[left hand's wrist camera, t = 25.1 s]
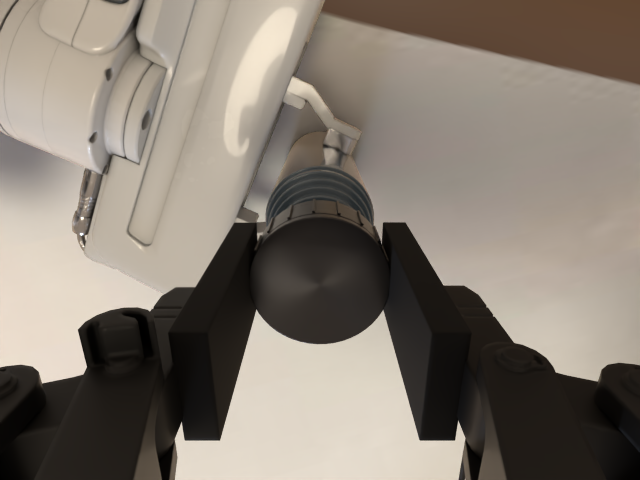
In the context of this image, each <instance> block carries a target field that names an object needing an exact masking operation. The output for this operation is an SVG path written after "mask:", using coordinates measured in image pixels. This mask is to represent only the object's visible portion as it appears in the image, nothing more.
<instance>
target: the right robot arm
mask: <svg viewBox="0 0 640 480" xmlns="http://www.w3.org/2000/svg"><path fill="white" fill-rule="evenodd" d="M324 2H325V0H0V131H1V132H2V133H4V134H6V135H7V136H9V137H12V138H14V139H16V140H19V141H21V142H24V143H26V144H28V145H31V146H33V147H36V148H38V149H40V150H43V151H45V152H48V153H50V154H53V155H55V156H58V157H60V158H63V159H65V160H67V161H70V162H72V163H75V164H77V165H79V166H82V167H84V168H85V171H84V176H83V180H82V184H81V189H80V198H79V204H78V208H77V211H75V214H74V217H73V221H72V231H73V232H74V233H76V234H77V238H78V242H79V244H80V247H81V248H82V250H83V251H84V254H85V256H87V257H88V258H89V259H91V260H93V261H95V262H98V263H100V264H103V265H105V266H108V267H111V268H113V269H117V270H119V271H120V272H122V273H124V274H126V275H127V276H129V277H131V278H133V279H135V280H136V281H138V282H140V283H142V284H144V285H146V286H148V287H150V288H152V289H154V290H156V291H158V292H161V293H163V294H166V293H167V292H169V291H170V290H172V289H174V288H175V287H196V285H197V284H198V282H199V280H200V279H201V277H202V275H203V274H204V272H205V270H206V269H207V267H208V265H209V264H210V262H211V260H212V259H213V257H214V255H215V254H216V252H217V250H218V249H219V247H220V245H221V244H222V242H223V240H224V239H225V237H226V235H227V234H228V232H229V231H230V229H231V227H232V226H233V224H234V223H257V239H259V236H260V235H262V234H263V232H264V230H265V229H266V222H257V219H258V217H259V215H258V213H256V212H253V211H251V210H249V209H246V208H244V207H243V206H244V204H245V201H246V199H247V196H248V194H249V191H250V189H251V186H252V184H253V181H254V179H255V176H256V173H257V171H258V168H259V166H260V163H261V161H262V158H263V156H264V153H265V151H266V148H267V146H268V143H269V141H270V138H271V136H272V133H273V131H274V128H275V126H276V123H277V121H278V118H279V116H280V113H281V111H282V108H283V106H284V103H286V104H289V105H291V106H293V107H295V108H297V109H300V110H301V109H303V108H304V106H305V104H306V102H307V101H308V102H309V104H310V105H311V107H312V108H313V109H314V111H315V112H316V114H317V115H318V116H319V118H320V119H321V121H322V122H323V123H324V125H325V126H326V128H327V131H326V133H325V135H324V138H323V144H324V145H327V146H329V147H331V148H334V149H335V148H339V150H340V151H341V152H342V153H344V154H346V155H349V156H351V154H352V152H353V150H354V148H355V146H356V144H357V142H358V140H359V138H360V136H361V134H362V132H361V130H359V129H357V128H356V127H354V126H352V125H350V124H347V123H345V122H343V121H341V120H339V119H337V118H335V117H334V115H333V113H332V112H331V110H330V109H329V107H328V106H327V105H326V103H325V102H324V100H323V99H322V97H321V96H320V94H319V93H318V91H317V90H316V89H315V87H314V86H313V85H311V84H309V83H307V82H305V81H303V80H301V79H299V78H297V77H295V75H296V73H297V70H298V68H299V65H300V63H301V60H302V58H303V55H304V53H305V50H306V48H307V45H308V43H309V40H310V38H311V35H312V33H313V30H314V27H315V25H316V22H317V20H318V17H319V15H320V12H321V10H322V7H323V5H324ZM85 235H88V236H87V240H85Z"/></svg>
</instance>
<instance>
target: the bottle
mask: <svg viewBox="0 0 640 480" xmlns="http://www.w3.org/2000/svg"><path fill="white" fill-rule="evenodd" d="M325 133H326V132H323V131H317V132H311V133H308V134H306V135H304V136H302V137H301V138H299V139H298V140H297V141H296V142H295V143H294V145H293V146H292V148H291V150H290V152H289V154H288V156H287V159H286V161H285V163H284V166H283V168H282V170H281V173H280V175H279V177H278V180H277V182H276V184H275V187H274V189H273V191H272V194H271V196H270V198H269V201H268V204H267V209H266V227H267V226H268V225H269V223H270V221H271V218H272V217H274V218H275V217H276V216H277V215H279V214H280V213H281V212H282V211H284V210H286V209H287V208H289V207H290V205H293V206H294V205H296V204H299V203H303V202H307V201H313V199H315V200H325V201H333V202H336V201H339V203H341V204H344V205H346V206H349V207H350V208H352V209H354V210H356V211H358V210H359V211H360V213H361V215H363V216H364V217H365V218H366V219H367V220H368V221H369V222H370V224H371V225H372V226H374V211H373V206H372V202H371V199H370V197H369V195H368V192H367V190H366V188H365V185H364V183H363V181H362V178H361V176H360V174H359V171H358V169H357V167H356V164H355V162H354V160H353V157H352V155H351V156H349V155H346V154H344V153H342V152H341V151H340V150H339V148H335V149H334V148H331V147H329V146H327V145H324V144H323V138H324V135H325Z"/></svg>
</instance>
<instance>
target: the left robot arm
mask: <svg viewBox="0 0 640 480" xmlns="http://www.w3.org/2000/svg"><path fill="white" fill-rule="evenodd" d="M257 241H258V239H257V223H234V224H233V226H232V227H231V229H230V231H229V232H228V234H227V235H226V237H225V239H224V240H223V242H222V244H221V245H220V247H219V249H218V250H217V252H216V254H215V255H214V257H213V259H212V260H211V262H210V264H209V265H208V267H207V269H206V270H205V272H204V274H203V275H202V277H201V279H200V280H199V282H198V284H197V285H196V287H175V288H174V289H172V290H170V291H169V292H167V293H166V294H164V295H163V296H161V298H160V299H159V300H158V302H157V303H156V304H155V306H154V309H152V310H151V311H148V310H146V309H141V308H120V309H115V310H110V311H107V312H105V313H102V314H99V315H96V316H95V317H93V318H91V319H90V320H88V321H86V322H85V323H84V324H83V325H82V326H81V327H80V328H79V329H78V332H79V336H80V340H81V344H82V348H83V352H84V356H85V360H86V364H87V368H86V371H85V373H84V375H80V376H76V377H72V378H68V379H63V380H58V381H53V382H48V383H43V384H42V382H41V379H40V375H39V372H38V371H37V370H36V369H35V368H33V367H31V366H25V365H14V366H5V367H1V368H0V480H175V473H176V464H177V451H176V445H175V437H176V434H177V432H178V429H179V427H180V424H181V422H182V426H183V432H184V439H185V440H220V439H221V435H222V431H223V428H224V424H225V420H226V417H227V413H228V410H229V406H230V402H231V399H232V395H233V392H234V388H235V384H236V381H237V377H238V374H239V370H240V366H241V363H242V359H243V356H244V352H245V348H246V345H247V341H248V338H249V334H250V330H251V327H252V323H253V320H254V316H255V312H256V307H255V305H254V303H253V300H252V298H251V291H250V277H249V271H250V266H251V263H252V260H253V257H254V255H255V252H253V251H254V249H255V246H256V244H257ZM382 245H383V247H384V250H385V252H386V255H387V258H388V260H389V267H390V288H389V297H388V300H387V303H386V305H385V307H384V309H383V310H384V313H385V317H386V320H387V324H388V328H389V331H390V335H391V339H392V342H393V346H394V349H395V353H396V357H397V360H398V364H399V367H400V371H401V375H402V378H403V382H404V385H405V389H406V393H407V396H408V400H409V403H410V407H411V411H412V414H413V418H414V422H415V425H416V429H417V432H418V436H419V440H455V437H456V430H457V424H458V421H459V423H460V425H461V428H462V430H463V433H464V435H465V438H466V439H465V445H464V451H463V456H462V462H461V468H460V474H459V480H640V365H635V364H625V363H615V364H609V365H607V366H606V367H605V368H603V369H602V371H601V374H600V377H599V381H598V382H596V381H591V380H586V379H581V378H577V377H572V376H567V375H563V374H559V373H556V372H555V370H554V368H553V366H552V365H551V363H550V362H549V361H548V360H547V358H546V357H544V356H543V355H541V354H540V353H538V352H537V351H536V350H533V349H531V348H528V347H526V346H524V345H520V344H516V343H514V342H513V341H512V340H511V338H510V337H509V336H508V334H507V333H506V331H505V330H504V329H503V327H502V326H501V325H500V323H499V322H498V321H497V319H496V318H495V317H493V314H492V313H491V311H490V310H489V308H486V304H485V303H484V302H483V300H482V299H481V298H480V296H479V295H478V294H476V293H475V292H473V291H472V290H470V289H468V288H467V287H465V286H443V284H442V282H441V281H440V279H439V277H438V276H437V274H436V272H435V271H434V269H433V268H432V266H431V264H430V263H429V261H428V259H427V258H426V256H425V254H424V253H423V251H422V249H421V248H420V246H419V244H418V243H417V241H416V239H415V238H414V236H413V234H412V233H411V231H410V229H409V228H408V226H407V224H406V223H383V234H382Z"/></svg>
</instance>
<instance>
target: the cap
mask: <svg viewBox="0 0 640 480" xmlns="http://www.w3.org/2000/svg"><path fill="white" fill-rule="evenodd" d="M253 252H255V255H254V257H253V260H252V263H251V266H250V271H249V277H250V291H251V298H252V300H253V303H254V305H255V307H256V309H257V311H258V312H259V314H260V315H261V317H262V318H263V319H264V320H265V321H266V322H267V323H268V324H269V325H270V326H271V327H272V328H273V329H275V330H276V331H278V332H279V333H281V334H282V335H284V336H286V337H289V338H291V339H293V340H297V341H300V342H304V343H310V344H329V343H336V342H340V341H343V340H346V339H349V338H351V337H353V336H355V335H357V334H359V333H361V332H362V331H364V330H365V329H366V328H368V327H369V326H370V325H371V324H372V323H373V322H374V321H375V320H376V319H377V318H378V316H379V315H380V313H381V312H382V311H383V309H384V307H385V305H386V303H387V300H388V297H389V288H390V267H389V260H388V258H387V255H386V252H385V250H384V247H383V245H382V244H381V241H380V238H379V235H378V233H377V230H376V227H375V226H372V225H371V224H370V222H369V221H368V220H367V219H366V218H365V217H364V216H363V215H361V213H360V211H359V210H358V211H356V210H354V209H352V208H350V207H349V206H346V205H344V204H341V203H339V201H336V202H333V201H325V200H315V199H313V201H307V202H303V203H299V204H296V205H294V206H293V205H290V207H289V208H287V209H286V210H284V211H282V212H281V213H280V214H279V215H277V216H276V217H275V218H274V217H272V218H271V221H270V223H269V225H268V226H267V227H266V229H265V230H264V232H263V234H262V235H260V236H259V239H258V241H257V244H256V246H255V249H254V251H253Z"/></svg>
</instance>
